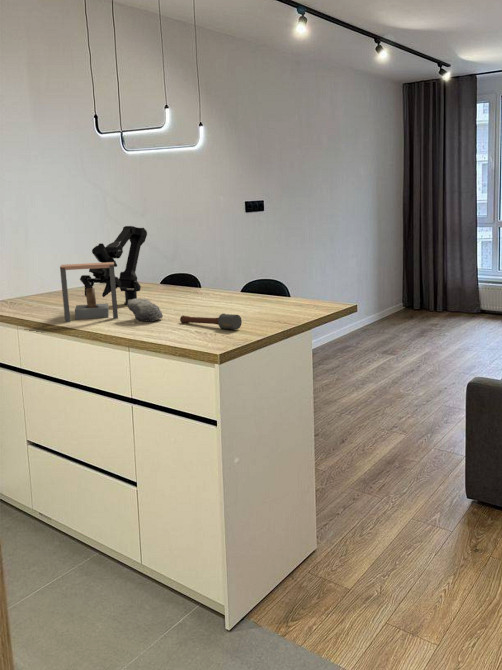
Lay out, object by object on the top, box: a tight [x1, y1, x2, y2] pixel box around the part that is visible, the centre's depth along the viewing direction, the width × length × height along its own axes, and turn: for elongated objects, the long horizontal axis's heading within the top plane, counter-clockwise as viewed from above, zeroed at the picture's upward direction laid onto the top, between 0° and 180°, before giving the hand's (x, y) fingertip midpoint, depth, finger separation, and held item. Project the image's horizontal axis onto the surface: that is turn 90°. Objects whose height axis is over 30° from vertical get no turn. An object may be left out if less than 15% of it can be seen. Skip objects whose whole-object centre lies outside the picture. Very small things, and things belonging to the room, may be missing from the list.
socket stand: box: [59, 262, 119, 323], centre depth 276 cm, size 19×22×24 cm
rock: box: [126, 298, 164, 323], centre depth 265 cm, size 11×17×10 cm, turn 44°
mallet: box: [179, 313, 243, 330], centre depth 248 cm, size 6×6×30 cm
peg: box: [85, 287, 97, 308], centre depth 279 cm, size 4×4×12 cm
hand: (94, 296), depth 281 cm, fingers open, 9 cm apart
